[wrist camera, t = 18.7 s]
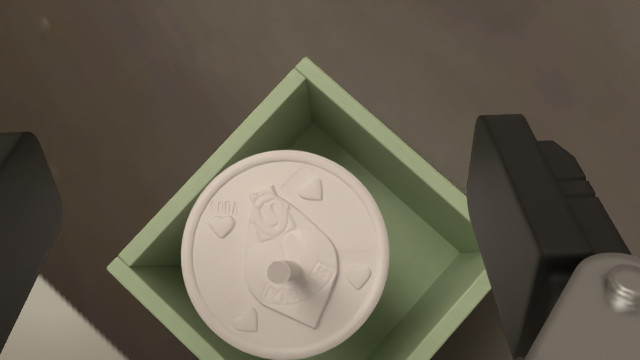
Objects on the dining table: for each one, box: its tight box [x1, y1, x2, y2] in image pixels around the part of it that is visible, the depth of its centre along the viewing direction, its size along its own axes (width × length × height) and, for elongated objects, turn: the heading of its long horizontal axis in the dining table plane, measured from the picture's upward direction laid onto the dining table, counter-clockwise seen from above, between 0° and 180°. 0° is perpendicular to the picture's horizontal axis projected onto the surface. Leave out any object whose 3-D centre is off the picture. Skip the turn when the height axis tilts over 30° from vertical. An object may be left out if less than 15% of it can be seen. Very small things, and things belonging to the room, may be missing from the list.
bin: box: [107, 57, 492, 360], centre depth 25 cm, size 10×10×8 cm
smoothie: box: [181, 150, 389, 360], centre depth 21 cm, size 6×6×14 cm
